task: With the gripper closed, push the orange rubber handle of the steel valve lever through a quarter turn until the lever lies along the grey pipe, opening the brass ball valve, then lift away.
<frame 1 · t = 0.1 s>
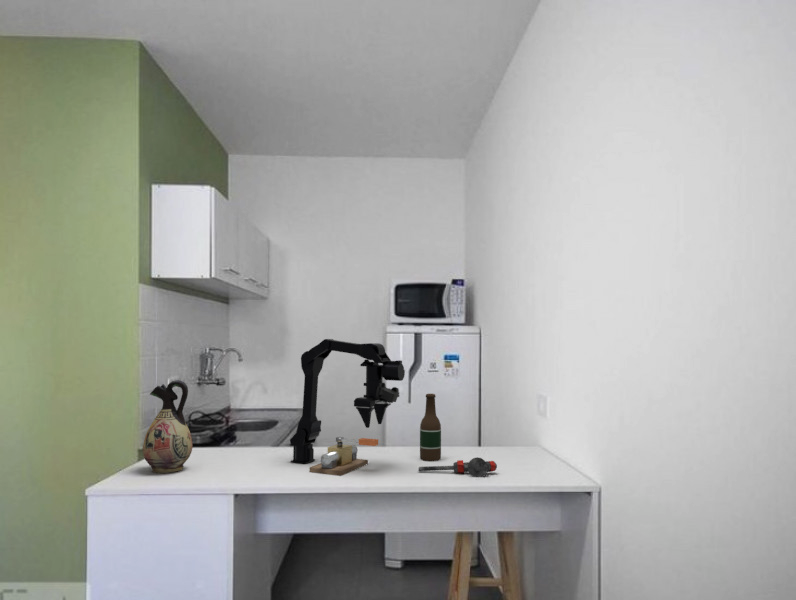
hand: (373, 425, 190), 15 cm above the table, fingers open, 9 cm apart
ceramic jug: (169, 471, 186), on the table
valve base: (339, 467, 191), on the table
lever: (356, 440, 189), point 10 cm above the table, hinge at 0.0°
beer bottle: (430, 459, 206), on the table
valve: (457, 473, 187), on the table
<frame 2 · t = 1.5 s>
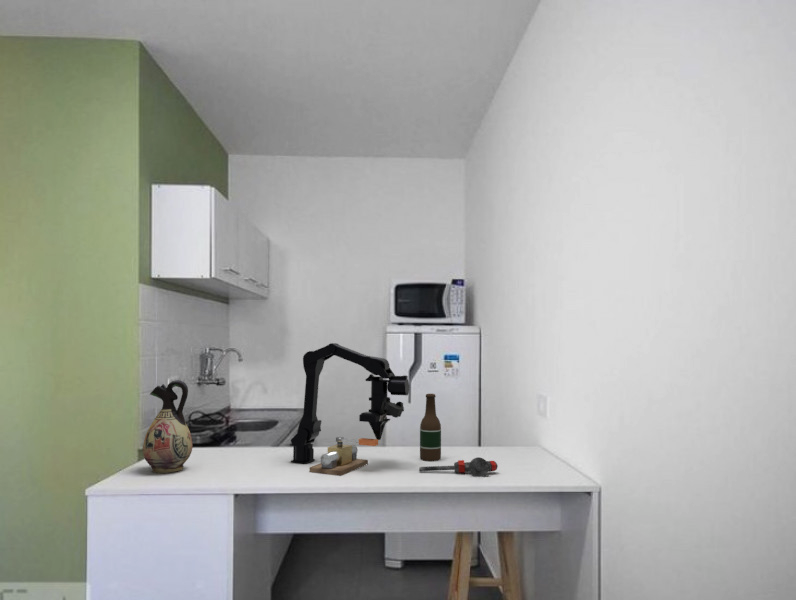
hand: (378, 439, 193), 9 cm above the table, fingers closed
nothing on the table moved.
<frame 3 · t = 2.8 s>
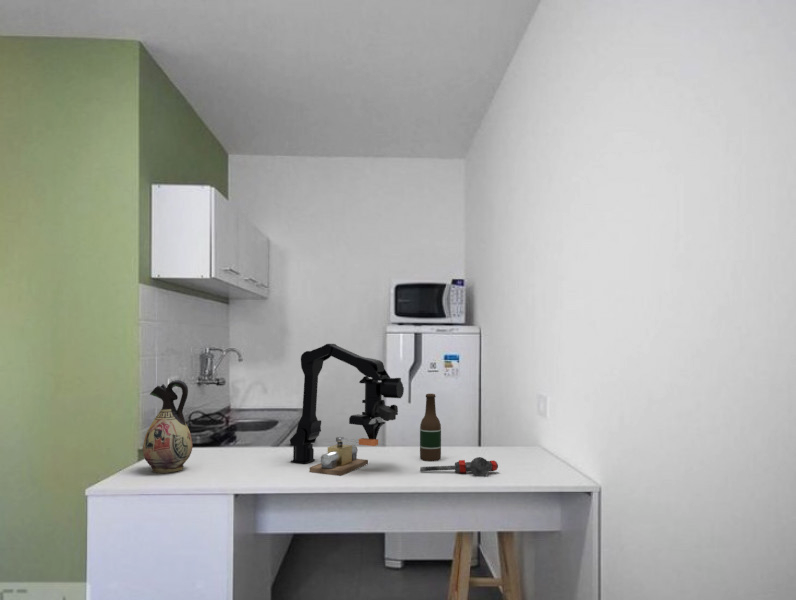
hand: (372, 443, 190), 9 cm above the table, fingers closed
lever: (356, 440, 189), point 10 cm above the table, hinge at 0.0°, touching gripper
everything else where it was.
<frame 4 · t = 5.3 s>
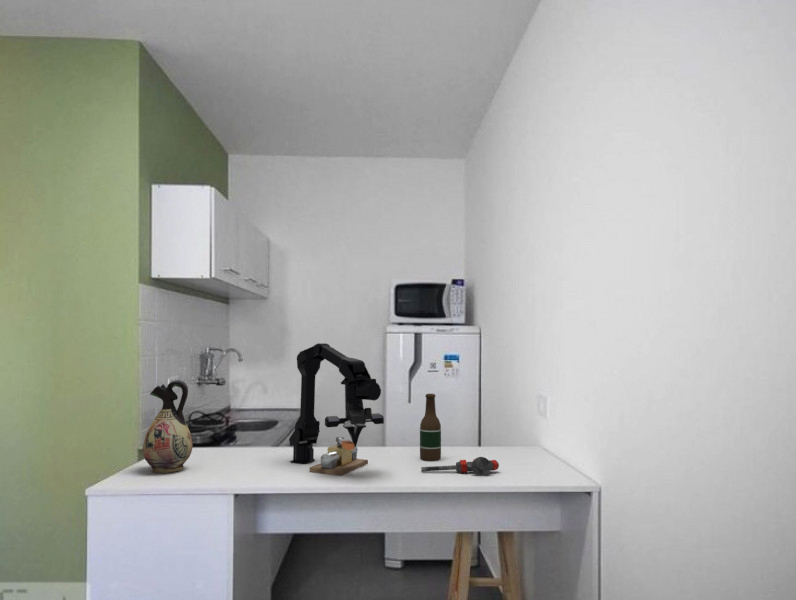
hand: (354, 446, 182), 9 cm above the table, fingers closed
lever: (344, 442, 186), point 10 cm above the table, hinge at 46.6°, touching gripper
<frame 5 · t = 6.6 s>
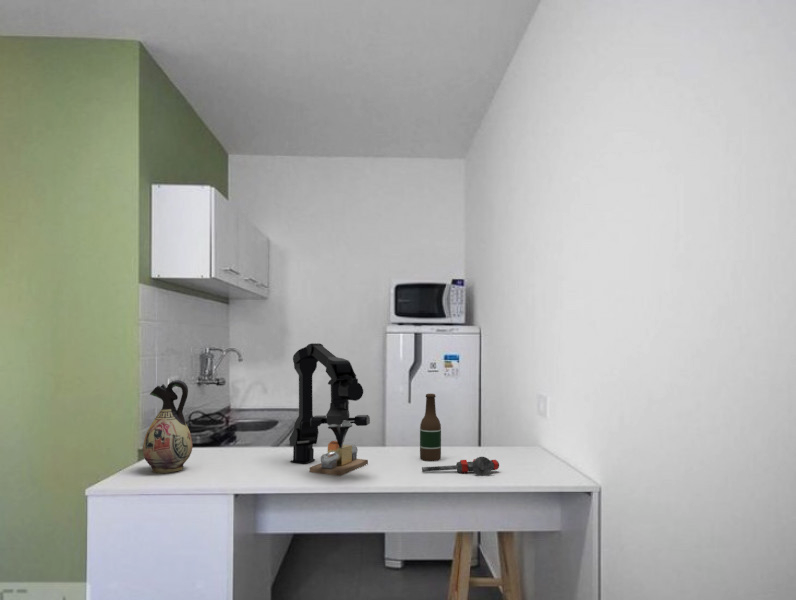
hand: (340, 447, 180), 9 cm above the table, fingers closed
lever: (336, 442, 186), point 10 cm above the table, hinge at 70.4°, touching gripper
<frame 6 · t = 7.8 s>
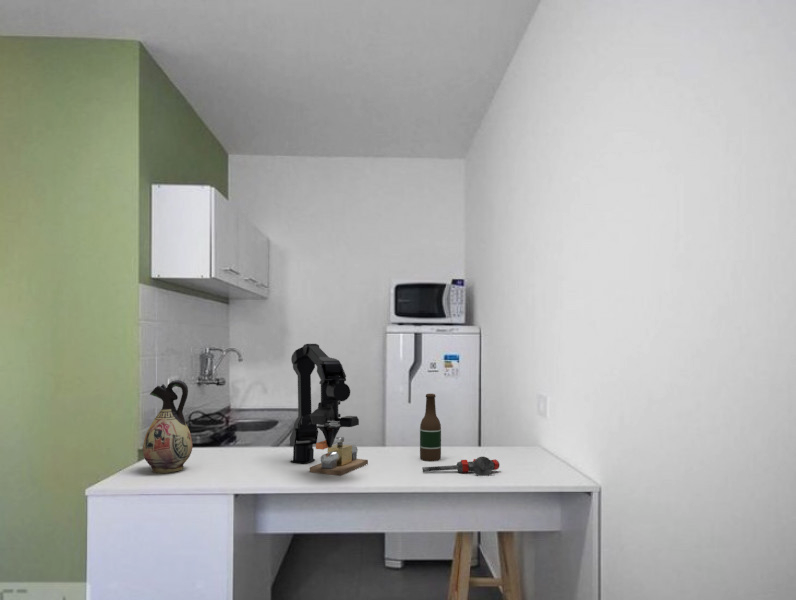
hand: (329, 447, 180), 9 cm above the table, fingers closed
lever: (331, 442, 186), point 10 cm above the table, hinge at 88.0°, touching gripper
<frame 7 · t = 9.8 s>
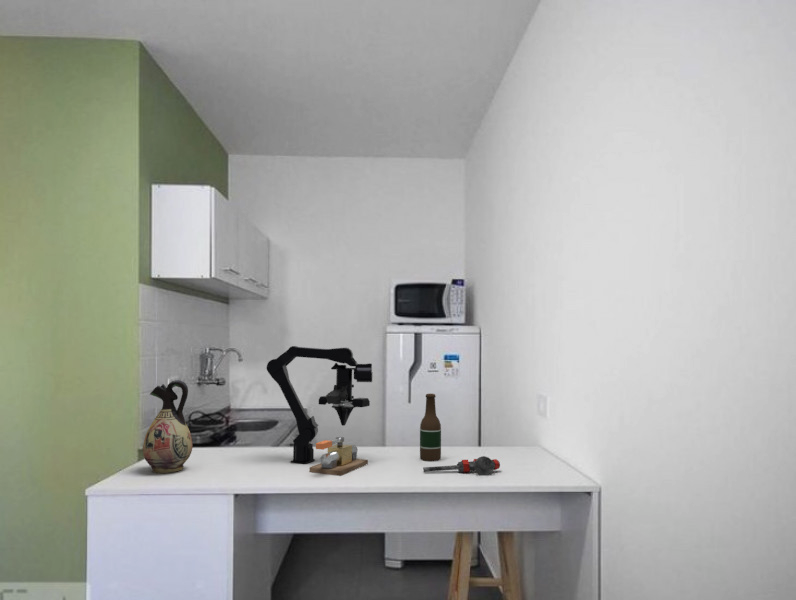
hand: (343, 425, 202), 13 cm above the table, fingers closed
lever: (331, 442, 186), point 10 cm above the table, hinge at 88.0°
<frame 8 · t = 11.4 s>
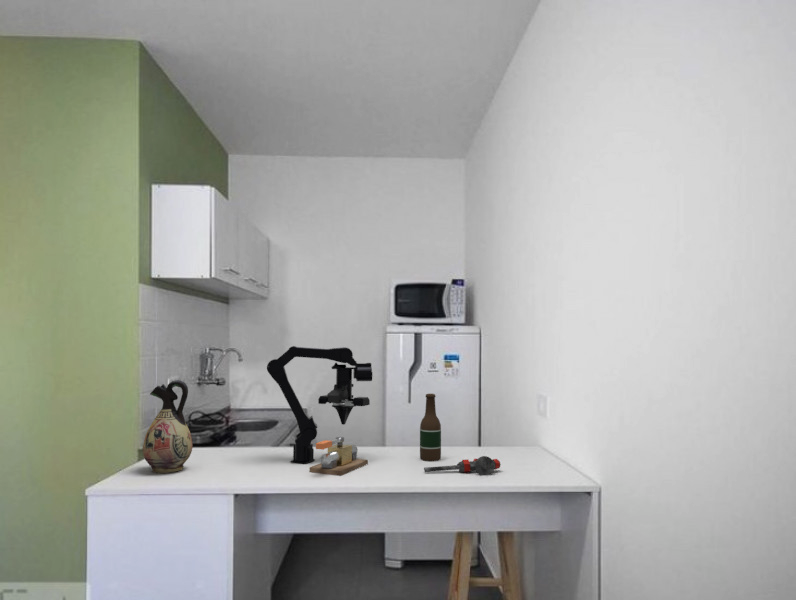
hand: (343, 424, 204), 13 cm above the table, fingers closed
at the end: lever at +88° (first picture: +0°) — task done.
